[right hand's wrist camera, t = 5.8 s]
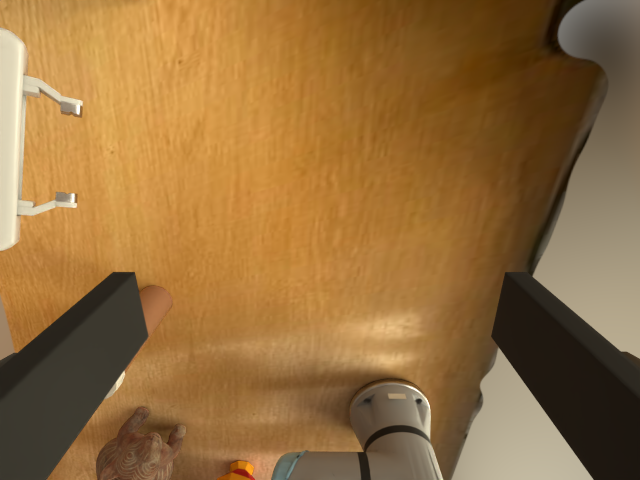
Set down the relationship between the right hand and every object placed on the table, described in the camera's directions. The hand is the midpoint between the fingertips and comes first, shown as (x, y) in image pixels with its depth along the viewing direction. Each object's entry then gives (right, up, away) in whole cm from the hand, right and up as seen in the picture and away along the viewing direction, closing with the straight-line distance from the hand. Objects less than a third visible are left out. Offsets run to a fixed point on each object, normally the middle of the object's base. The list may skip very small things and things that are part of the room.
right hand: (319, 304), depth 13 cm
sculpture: (-33, -35, +58) cm, 75 cm away
